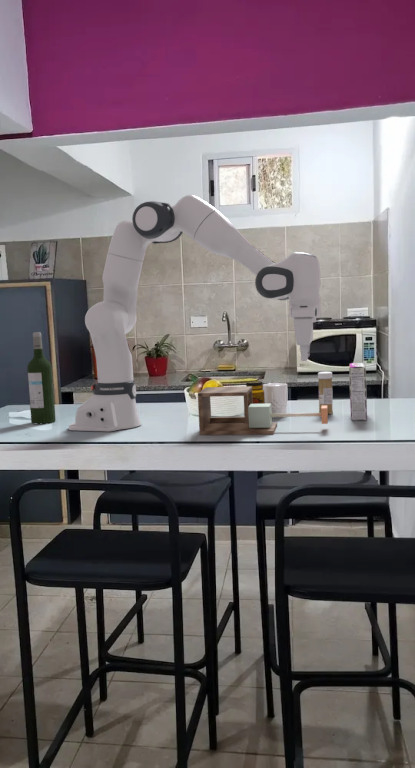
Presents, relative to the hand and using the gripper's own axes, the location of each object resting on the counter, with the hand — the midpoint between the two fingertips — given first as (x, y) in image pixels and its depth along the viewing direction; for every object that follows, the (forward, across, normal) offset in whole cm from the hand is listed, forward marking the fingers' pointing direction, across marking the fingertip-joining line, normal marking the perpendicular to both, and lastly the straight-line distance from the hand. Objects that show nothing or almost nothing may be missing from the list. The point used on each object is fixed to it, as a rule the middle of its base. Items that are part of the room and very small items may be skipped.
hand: (305, 359), depth 199 cm
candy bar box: (+20, -17, +15) cm, 30 cm away
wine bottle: (+22, -15, -88) cm, 92 cm away
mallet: (+19, +2, -5) cm, 20 cm away
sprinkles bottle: (+20, -25, +5) cm, 33 cm away
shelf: (+20, +2, -19) cm, 28 cm away
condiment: (+21, -17, -17) cm, 32 cm away
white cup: (+20, -24, -11) cm, 33 cm away
